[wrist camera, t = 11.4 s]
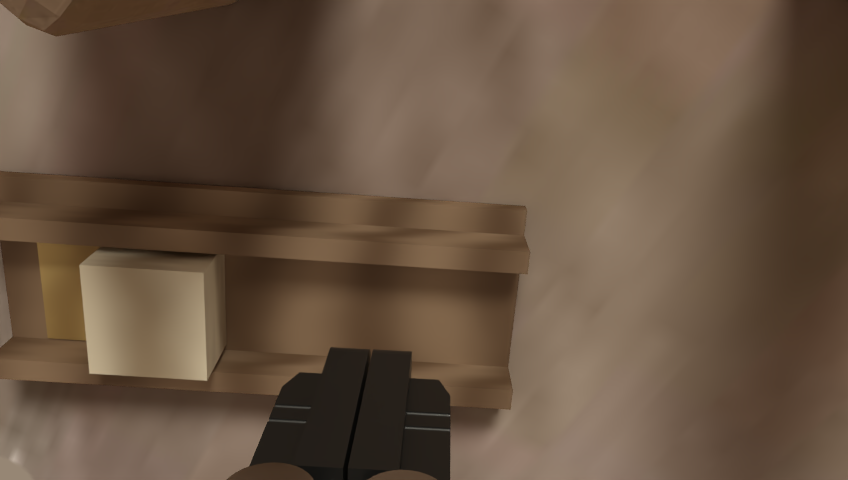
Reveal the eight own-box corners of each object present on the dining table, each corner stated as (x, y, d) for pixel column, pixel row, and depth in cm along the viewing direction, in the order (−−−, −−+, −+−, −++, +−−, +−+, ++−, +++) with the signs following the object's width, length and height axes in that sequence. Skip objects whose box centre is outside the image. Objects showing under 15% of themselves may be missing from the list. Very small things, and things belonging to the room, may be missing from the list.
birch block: (224, 244, 40) (203, 272, 36) (226, 343, 42) (207, 380, 38) (111, 237, 40) (79, 264, 36) (119, 337, 42) (89, 373, 38)
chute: (524, 206, 40) (533, 225, 37) (501, 398, 44) (507, 431, 41) (-1, 171, 40) (-37, 188, 37) (25, 370, 44) (-6, 400, 41)
